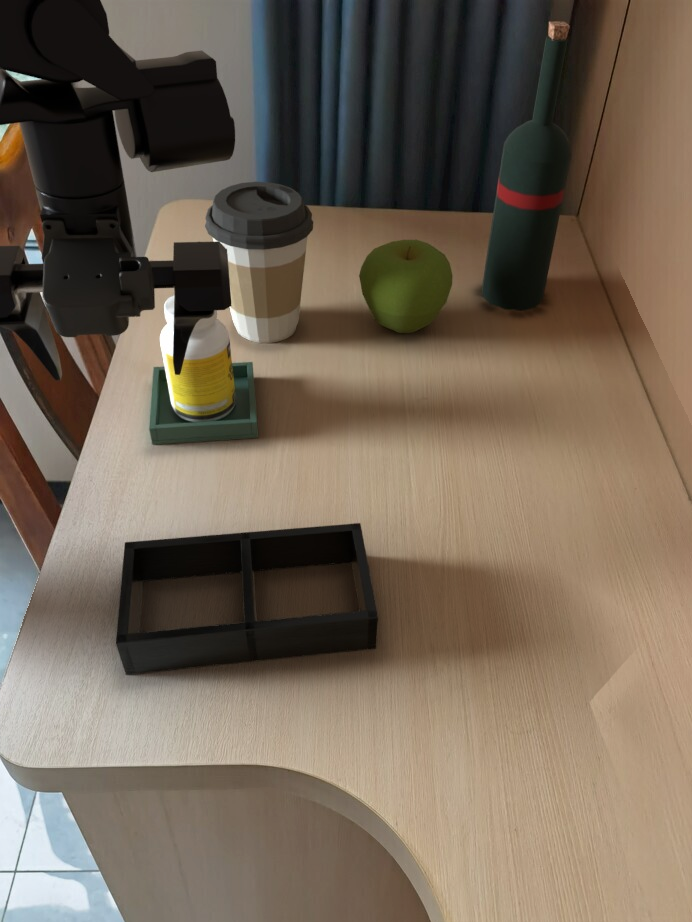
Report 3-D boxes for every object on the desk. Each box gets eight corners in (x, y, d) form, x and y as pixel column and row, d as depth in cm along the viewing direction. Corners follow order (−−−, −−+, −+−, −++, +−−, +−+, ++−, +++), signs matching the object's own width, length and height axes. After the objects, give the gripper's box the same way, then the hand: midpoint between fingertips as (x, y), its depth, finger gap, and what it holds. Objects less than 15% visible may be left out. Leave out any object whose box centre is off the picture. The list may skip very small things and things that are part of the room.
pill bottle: (238, 423, 80) (228, 321, 71) (172, 429, 79) (153, 326, 70) (234, 384, 84) (223, 284, 76) (171, 389, 83) (153, 288, 75)
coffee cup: (335, 328, 94) (336, 202, 83) (260, 366, 87) (251, 236, 77) (271, 290, 99) (264, 168, 88) (196, 324, 93) (179, 197, 82)
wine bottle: (526, 268, 106) (574, 7, 85) (551, 308, 99) (611, 35, 78) (469, 271, 105) (503, 7, 83) (490, 312, 98) (534, 35, 76)
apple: (385, 292, 100) (389, 215, 93) (462, 316, 97) (472, 238, 90) (341, 332, 93) (342, 252, 86) (422, 360, 90) (429, 279, 83)
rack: (125, 675, 59) (115, 643, 56) (133, 574, 66) (124, 541, 63) (376, 648, 62) (378, 617, 59) (359, 555, 69) (360, 522, 66)
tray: (152, 444, 78) (148, 428, 76) (156, 382, 85) (153, 366, 83) (258, 437, 79) (257, 422, 78) (253, 377, 86) (252, 361, 85)
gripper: (-102, 239, 46) (-23, 446, 57) (225, 233, 49) (241, 430, 60) (-61, 163, 54) (2, 358, 65) (220, 162, 57) (235, 348, 68)
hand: (119, 375), depth 64 cm, fingers open, 9 cm apart
